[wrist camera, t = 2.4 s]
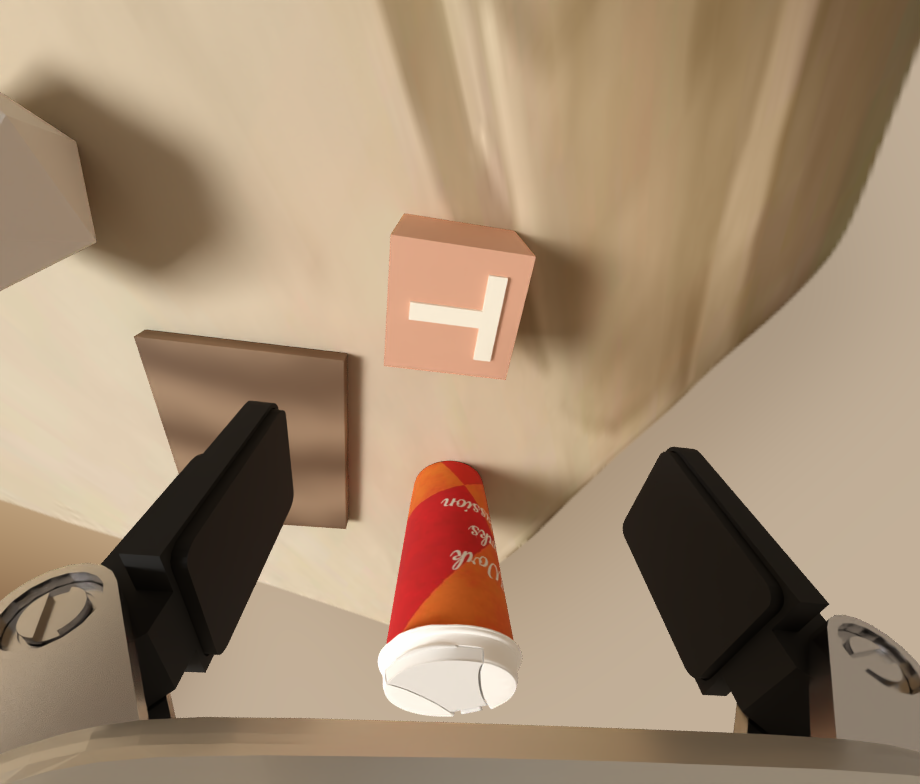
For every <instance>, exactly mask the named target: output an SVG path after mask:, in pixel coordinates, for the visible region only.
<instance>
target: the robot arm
mask: <svg viewBox="0 0 920 784" xmlns="http://www.w3.org/2000/svg"><path fill="white" fill-rule="evenodd" d="M293 498H294V489H293V479H292V469H291V459H290V449H289V439H288V429H287V419H286V413H285V411H284V410H279V409H278V406H277V404H275V403H269V402H260V401H248V402H246V403H245V404H244V406H243V407H242V408H241V409H240V410H239V412H238V413H237V414H236V415H235V416H234V417H233V419H232V420H231V421H230V422H229V423H228V425H227V426H226V427H225V428H224V429H223V430H222V432H221V433H220V434H219V435H218V436H217V438H216V439H215V440H214V441H213V442H212V443H211V445H210V446H209V447H208V448H207V449H206V451H205V452H204V453H203V454H199V455H197V456H195V457H194V458H193V459H192V460H191V461H190V462H189V463H188V464H187V466H186V467H185V468H184V469H183V470H182V471H181V472H180V474H179V475H178V476H177V477H176V478H175V479H174V481H173V482H172V483H171V484H170V485H169V486H168V487H167V489H166V490H165V491H164V492H163V493H162V494H161V496H160V497H159V498H158V499H157V500H156V501H155V502H154V504H153V505H152V506H151V507H150V508H149V509H148V510H147V512H146V513H145V514H144V515H143V516H142V517H141V519H140V520H139V521H138V522H137V523H136V524H135V525H134V527H133V528H132V529H131V530H130V531H129V532H128V534H127V535H126V536H125V537H124V538H123V539H122V540H121V542H120V543H119V544H118V545H117V546H116V547H115V549H114V550H113V551H112V552H111V553H110V555H108V557H107V558H106V559H105V560H104V561H103V562H102V564H101V565H98V564H91V563H84V564H74V565H68V566H65V567H62V568H58V569H55V570H52V571H49V572H47V573H45V574H43V575H40V576H38V577H36V578H34V579H32V580H30V581H28V582H27V583H25V584H23V585H22V586H20V587H19V588H17V589H16V590H14V591H12V592H11V593H9V594H8V595H7V596H6V597H5V598H4V599H3V600H2V601H0V784H920V666H919V664H918V663H917V662H916V660H914V659H913V657H911V655H910V654H908V652H907V651H905V649H903V647H901V646H900V645H899V644H898V643H896V642H895V641H894V640H892V639H891V638H890V637H889V636H888V635H886V634H885V633H883V632H881V631H880V630H878V629H877V628H875V627H874V626H872V625H870V624H868V623H866V622H864V621H862V620H859V619H857V618H854V617H850V616H846V615H834V616H833V617H831V618H830V619H829V620H827V621H825V619H824V618H823V617H822V616H821V614H820V612H821V611H822V610H823V609H824V608H825V607H827V606H828V605H829V603H828V602H827V601H826V600H825V599H824V597H823V596H822V595H821V594H820V593H819V592H818V590H817V589H816V588H815V587H814V586H813V585H812V583H811V582H810V581H809V580H808V579H807V577H806V576H805V575H804V574H803V573H802V572H801V570H800V569H799V568H798V567H797V566H796V565H795V564H794V562H793V561H792V560H791V559H790V558H789V557H788V555H787V554H786V553H785V552H784V551H783V549H782V548H781V547H780V546H779V545H778V544H777V542H776V541H775V540H774V539H773V538H772V537H771V536H770V534H769V533H768V532H767V531H766V529H765V528H764V527H763V526H762V525H761V524H760V522H759V521H758V520H757V519H756V518H755V517H754V515H753V514H752V513H751V512H750V511H749V510H748V508H747V507H746V506H745V505H744V504H743V503H742V501H741V500H740V499H739V498H738V497H737V496H736V494H735V493H734V492H733V491H732V490H731V489H730V487H729V486H728V485H727V484H726V483H725V481H724V480H723V479H722V478H721V477H720V476H719V474H718V473H717V472H716V471H715V470H714V469H713V467H712V466H711V465H710V464H709V463H708V462H707V460H706V459H705V458H704V457H703V456H702V455H701V453H699V452H698V451H697V450H695V449H689V448H679V447H671V448H669V449H667V451H666V452H663V453H661V454H660V456H659V458H658V459H657V461H656V463H655V465H654V467H653V469H652V470H651V472H650V474H649V476H648V478H647V480H646V482H645V484H644V486H643V487H642V489H641V491H640V493H639V495H638V496H637V498H636V500H635V502H634V504H633V506H632V508H631V509H630V511H629V513H628V515H627V517H626V519H625V521H624V523H623V534H624V537H625V539H626V541H627V543H628V545H629V547H630V550H631V552H632V554H633V556H634V558H635V561H636V563H637V565H638V567H639V569H640V571H641V574H642V576H643V578H644V580H645V582H646V584H647V586H648V589H649V591H650V593H651V595H652V597H653V599H654V602H655V604H656V606H657V608H658V610H659V612H660V615H661V617H662V619H663V621H664V623H665V626H666V628H667V630H668V632H669V634H670V636H671V638H672V641H673V643H674V645H675V647H676V649H677V651H678V654H679V656H680V658H681V660H682V662H683V664H684V667H685V668H686V670H687V672H688V673H689V674H690V675H691V676H692V677H694V678H695V680H696V682H697V684H698V686H699V688H700V690H701V693H702V694H703V695H717V696H727V695H728V694H729V693H730V692H732V694H733V696H734V698H735V700H736V702H737V706H736V714H735V723H734V731H733V733H722V732H697V731H673V730H647V729H646V730H645V729H622V728H620V729H619V728H594V727H567V726H536V725H509V724H507V725H506V724H480V723H447V722H416V721H415V722H414V721H380V720H347V719H315V718H229V717H197V718H176V717H175V712H174V707H173V703H172V698H171V694H170V692H172V691H173V690H175V689H176V687H177V685H178V683H179V681H180V679H181V677H182V675H183V673H184V672H206V670H207V668H208V666H209V664H210V662H211V660H212V658H213V656H214V655H220V654H222V653H223V651H224V650H225V648H226V647H227V645H228V643H229V641H230V639H231V636H232V634H233V632H234V630H235V628H236V626H237V624H238V621H239V619H240V617H241V615H242V613H243V610H244V608H245V606H246V604H247V602H248V600H249V598H250V595H251V593H252V591H253V588H254V587H255V585H256V582H257V580H258V578H259V576H260V574H261V571H262V569H263V567H264V565H265V563H266V561H267V558H268V556H269V554H270V552H271V550H272V548H273V545H274V543H275V541H276V539H277V537H278V535H279V532H280V530H281V528H282V526H283V524H284V522H285V519H286V517H287V515H288V513H289V511H290V508H291V506H292V503H293Z"/></svg>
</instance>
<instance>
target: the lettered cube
mask: <svg viewBox="0 0 920 784" xmlns="http://www.w3.org/2000/svg"><path fill="white" fill-rule="evenodd" d="M535 259H536V256H535V255H534V254H533V252H532V251H531V250H530V249H529V248H528V247H527V245H526V244H525V243H524V242H523V241H522V239H521V238H520V237H519V236H518V235H517V233H516V232H515V231H512V230H506V229H499V228H493V227H487V226H480V225H474V224H468V223H461V222H455V221H449V220H442V219H436V218H430V217H423V216H417V215H411V214H404V215H403V216H402V218H401V219H400V221H399V222H398V224H397V225H396V227H395V229H394V230H393V232H392V233H391V238H390V257H389V277H388V297H387V316H386V336H385V355H384V366H389V367H398V368H407V369H416V370H424V371H433V372H442V373H450V374H459V375H468V376H476V377H485V378H494V379H503V380H506V376H507V372H508V368H509V364H510V360H511V356H512V352H513V348H514V344H515V340H516V335H517V331H518V327H519V323H520V319H521V315H522V311H523V307H524V303H525V299H526V295H527V291H528V287H529V283H530V279H531V275H532V271H533V267H534V263H535Z"/></svg>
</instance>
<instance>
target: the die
mask: <svg viewBox="0 0 920 784" xmlns="http://www.w3.org/2000/svg"><path fill="white" fill-rule="evenodd" d="M96 242H97V241H96V236H95V231H94V226H93V221H92V217H91V212H90V207H89V202H88V197H87V192H86V187H85V182H84V177H83V173H82V168H81V163H80V158H79V153H78V148H77V143H76V141H75V140H73V139H71V138H70V137H68V136H67V135H65V134H64V133H62V132H61V131H59V130H58V129H56V128H55V127H53V126H52V125H50V124H48V123H47V122H45V121H44V120H42V119H41V118H39V117H38V116H36V115H35V114H33V113H32V112H30V111H29V110H27V109H25V108H24V107H22V106H21V105H19V104H18V103H16V102H15V101H13V100H12V99H10V98H9V97H7V96H6V95H4V94H3V93H1V92H0V291H1V290H3V289H5V288H7V287H9V286H11V285H13V284H15V283H17V282H19V281H21V280H23V279H25V278H27V277H29V276H31V275H33V274H35V273H37V272H39V271H41V270H43V269H45V268H47V267H49V266H51V265H53V264H55V263H57V262H59V261H61V260H63V259H65V258H67V257H69V256H71V255H73V254H75V253H77V252H79V251H81V250H83V249H85V248H87V247H88V246H90V245H92V244H94V243H96Z"/></svg>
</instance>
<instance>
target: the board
mask: <svg viewBox="0 0 920 784" xmlns="http://www.w3.org/2000/svg"><path fill="white" fill-rule="evenodd" d="M134 338H135V341H136V344H137V347H138V350H139V353H140V357H141V360H142V363H143V366H144V369H145V372H146V375H147V378H148V381H149V384H150V387H151V390H152V393H153V396H154V399H155V402H156V405H157V408H158V411H159V415H160V418H161V421H162V424H163V427H164V430H165V433H166V436H167V439H168V442H169V445H170V448H171V451H172V454H173V457H174V460H175V463H176V466H177V470H178V473H179V474H180V472H181V471H182V470H183V469H184V468H185V467H186V466H187V464H188V463H189V462H190V461H191V460H192V459H193V458H194V457H195V456H197V455H199V454H203V453H204V452H205V451H206V449H207V448H208V447H209V446H210V445H211V443H212V442H213V441H214V440H215V439H216V438H217V436H218V435H219V434H220V433H221V432H222V430H223V429H224V428H225V427H226V426H227V425H228V423H229V422H230V421H231V420H232V419H233V417H234V416H235V415H236V414H237V413H238V412H239V410H240V409H241V408H242V407H243V406H244V404H245V403H246V402H248V401H260V402H269V403H275V404H277V406H278V409H279V410H284V411H285V413H286V419H287V429H288V439H289V449H290V459H291V469H292V479H293V489H294V498H293V503H292V506H291V508H290V511H289V513H288V515H287V517H286V519H285V522H284V524H283V525H297V526H311V527H326V528H340V529H346V526H347V522H348V398H347V353H339V352H331V351H322V350H314V349H305V348H297V347H288V346H280V345H271V344H262V343H254V342H245V341H237V340H228V339H220V338H211V337H203V336H194V335H185V334H177V333H168V332H160V331H151V330H144V331H142V332H141V333H139V334H138V335H136V336H134Z"/></svg>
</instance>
